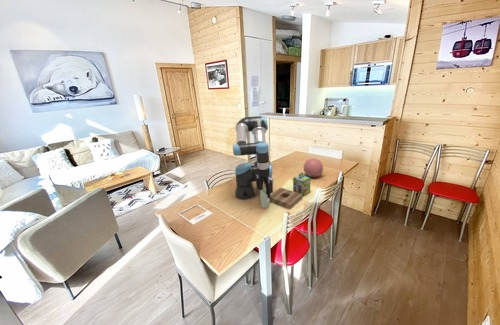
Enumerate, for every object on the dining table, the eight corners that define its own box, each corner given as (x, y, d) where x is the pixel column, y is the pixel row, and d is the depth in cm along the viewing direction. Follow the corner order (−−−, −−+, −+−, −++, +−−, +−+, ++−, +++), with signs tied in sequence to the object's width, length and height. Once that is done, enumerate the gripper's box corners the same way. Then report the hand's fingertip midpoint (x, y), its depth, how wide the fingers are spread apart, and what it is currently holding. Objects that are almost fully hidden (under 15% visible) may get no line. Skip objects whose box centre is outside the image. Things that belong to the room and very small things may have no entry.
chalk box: (303, 196, 147) (303, 177, 142) (292, 192, 154) (292, 174, 149) (310, 191, 153) (311, 173, 148) (300, 188, 160) (300, 170, 154)
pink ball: (328, 173, 180) (329, 156, 175) (316, 181, 167) (317, 163, 162) (312, 169, 191) (312, 153, 185) (299, 177, 178) (300, 159, 173)
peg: (261, 206, 140) (260, 190, 135) (264, 203, 142) (264, 188, 138) (265, 208, 137) (265, 192, 133) (269, 205, 140) (268, 189, 136)
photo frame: (192, 224, 126) (178, 213, 138) (193, 225, 126) (178, 214, 138) (212, 212, 135) (197, 203, 147) (212, 214, 136) (197, 205, 148)
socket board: (267, 200, 146) (267, 196, 144) (280, 191, 157) (280, 187, 155) (289, 209, 134) (289, 204, 133) (302, 198, 145) (302, 194, 144)
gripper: (249, 166, 133) (251, 199, 141) (270, 172, 122) (272, 207, 130) (256, 163, 138) (258, 194, 146) (278, 168, 127) (279, 202, 135)
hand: (265, 200), depth 138 cm, fingers closed on peg, 4 cm apart
